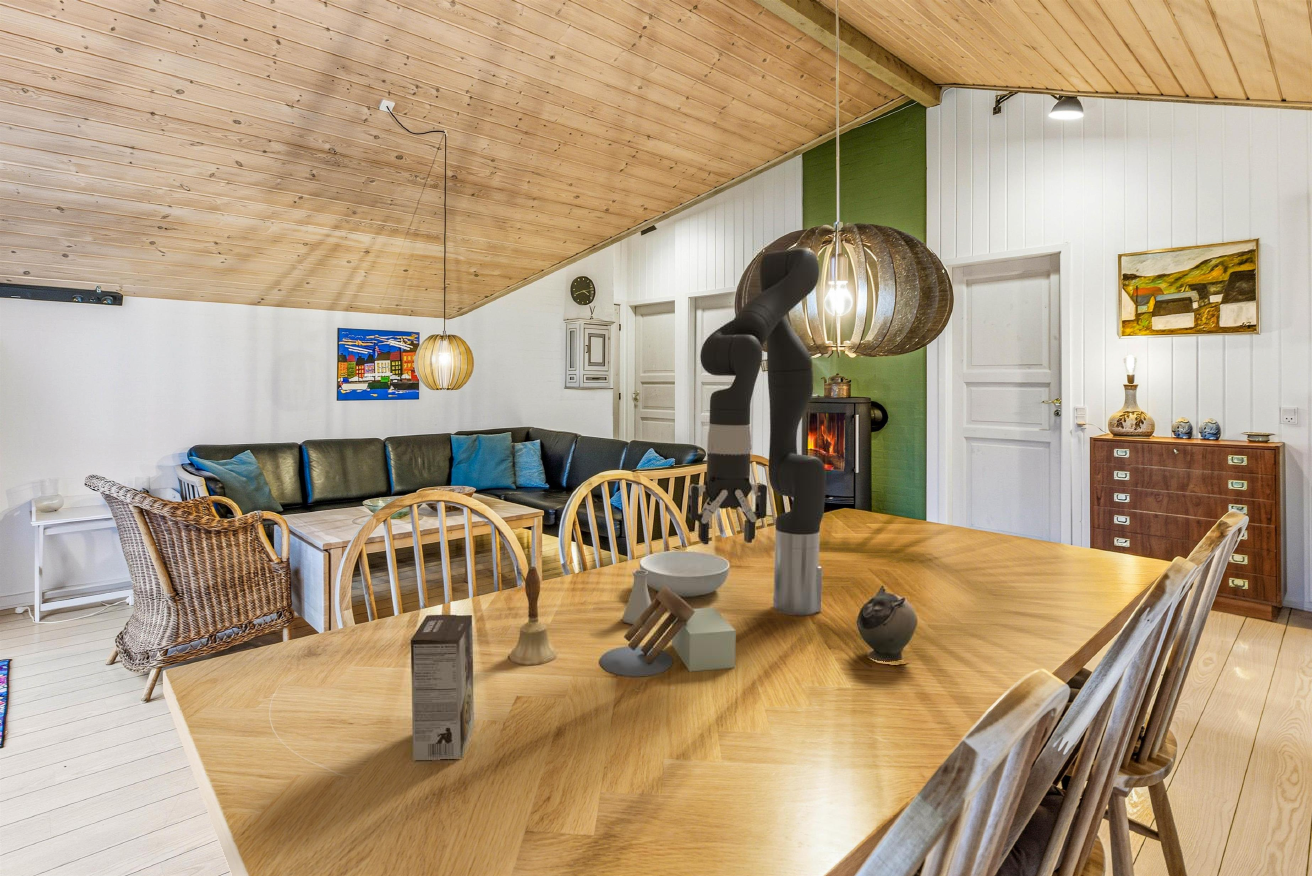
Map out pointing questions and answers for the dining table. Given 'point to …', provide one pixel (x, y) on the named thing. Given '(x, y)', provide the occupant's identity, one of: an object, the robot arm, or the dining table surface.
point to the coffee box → (442, 687)
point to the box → (706, 641)
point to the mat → (634, 662)
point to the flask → (637, 598)
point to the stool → (677, 611)
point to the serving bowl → (685, 572)
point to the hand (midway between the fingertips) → (726, 542)
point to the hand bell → (533, 630)
